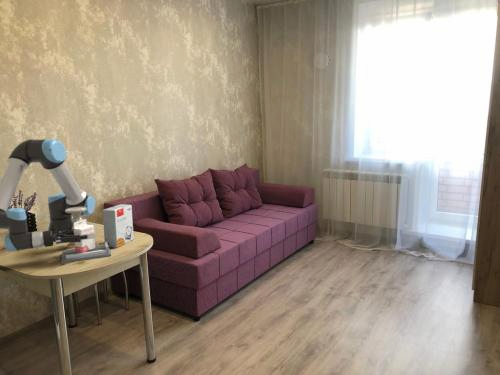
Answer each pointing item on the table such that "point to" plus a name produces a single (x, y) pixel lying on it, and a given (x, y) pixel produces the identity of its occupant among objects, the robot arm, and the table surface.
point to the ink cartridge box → (84, 229)
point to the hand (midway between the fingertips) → (94, 232)
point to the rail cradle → (86, 253)
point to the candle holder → (75, 219)
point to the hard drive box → (118, 225)
